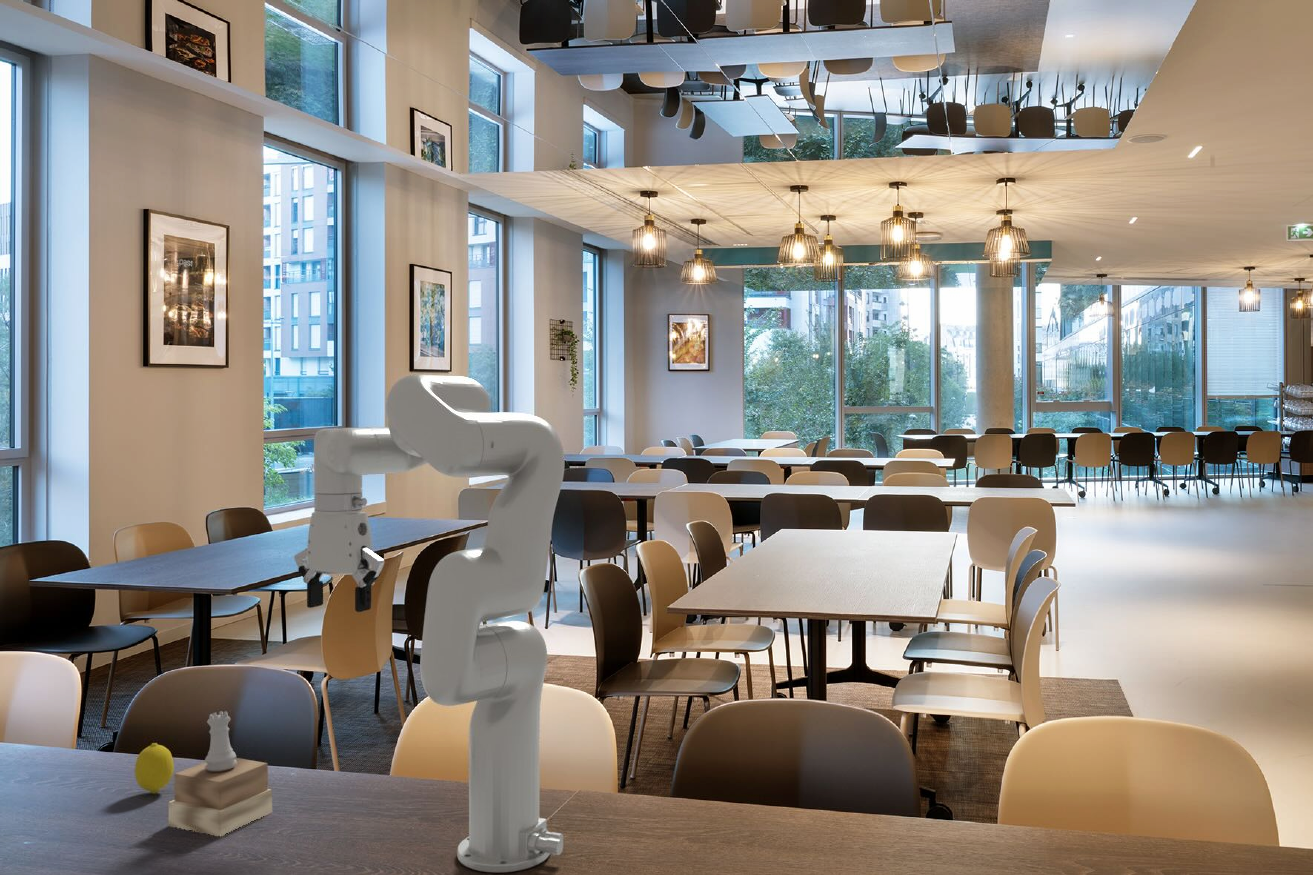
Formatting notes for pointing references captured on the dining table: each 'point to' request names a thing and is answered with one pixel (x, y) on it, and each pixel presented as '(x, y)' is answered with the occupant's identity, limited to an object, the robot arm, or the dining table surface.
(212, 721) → the rook chess piece
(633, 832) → the dining table surface
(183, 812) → the beech base block
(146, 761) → the lemon
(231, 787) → the tan top block
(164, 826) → the dining table surface
